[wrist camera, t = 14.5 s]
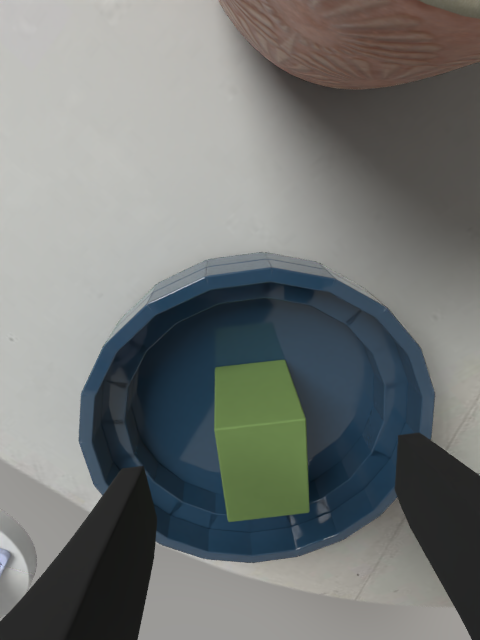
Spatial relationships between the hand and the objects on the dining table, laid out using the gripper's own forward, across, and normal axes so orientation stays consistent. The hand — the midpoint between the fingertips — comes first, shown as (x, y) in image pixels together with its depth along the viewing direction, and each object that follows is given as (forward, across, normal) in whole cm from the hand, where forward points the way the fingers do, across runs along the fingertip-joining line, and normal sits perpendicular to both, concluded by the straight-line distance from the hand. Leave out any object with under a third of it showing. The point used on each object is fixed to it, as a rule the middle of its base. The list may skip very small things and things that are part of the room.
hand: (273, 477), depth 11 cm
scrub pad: (+9, 0, +4) cm, 9 cm away
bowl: (+9, 0, +4) cm, 10 cm away
